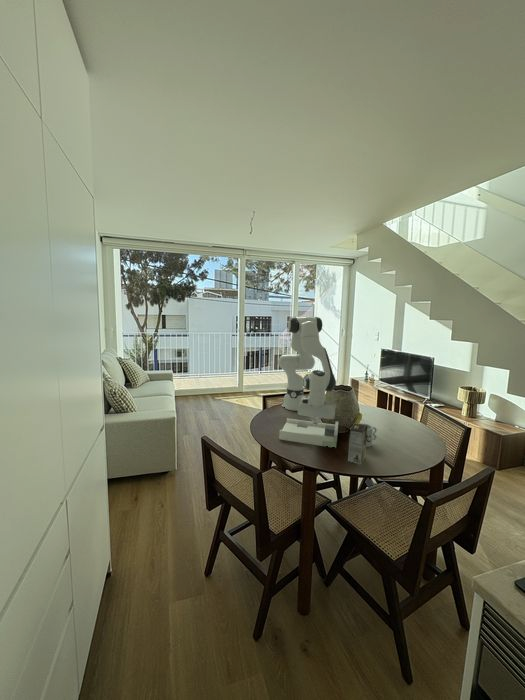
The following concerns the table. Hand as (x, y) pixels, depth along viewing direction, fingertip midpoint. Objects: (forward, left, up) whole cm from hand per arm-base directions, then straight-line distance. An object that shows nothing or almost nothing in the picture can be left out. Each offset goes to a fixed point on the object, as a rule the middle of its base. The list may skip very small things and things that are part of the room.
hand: (315, 424), depth 169 cm
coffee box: (+19, +22, -8) cm, 30 cm away
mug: (-1, +27, -8) cm, 28 cm away
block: (+1, +8, -4) cm, 9 cm away
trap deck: (0, -3, -7) cm, 8 cm away
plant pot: (-20, +20, -8) cm, 30 cm away
